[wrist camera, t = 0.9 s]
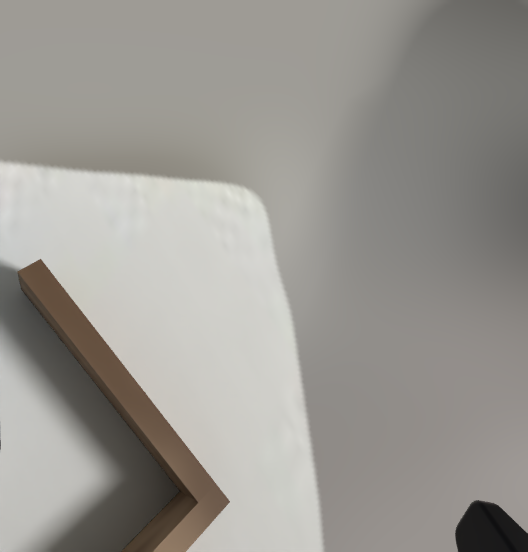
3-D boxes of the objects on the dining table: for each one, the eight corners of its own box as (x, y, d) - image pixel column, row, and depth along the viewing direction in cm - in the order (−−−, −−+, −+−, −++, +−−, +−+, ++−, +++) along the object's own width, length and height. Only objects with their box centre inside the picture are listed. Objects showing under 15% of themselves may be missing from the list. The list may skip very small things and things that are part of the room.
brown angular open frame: (-30, 745, 18) (-46, 812, 15) (-274, 458, 17) (-342, 468, 14) (208, 490, 25) (230, 501, 22) (41, 277, 24) (40, 258, 21)
